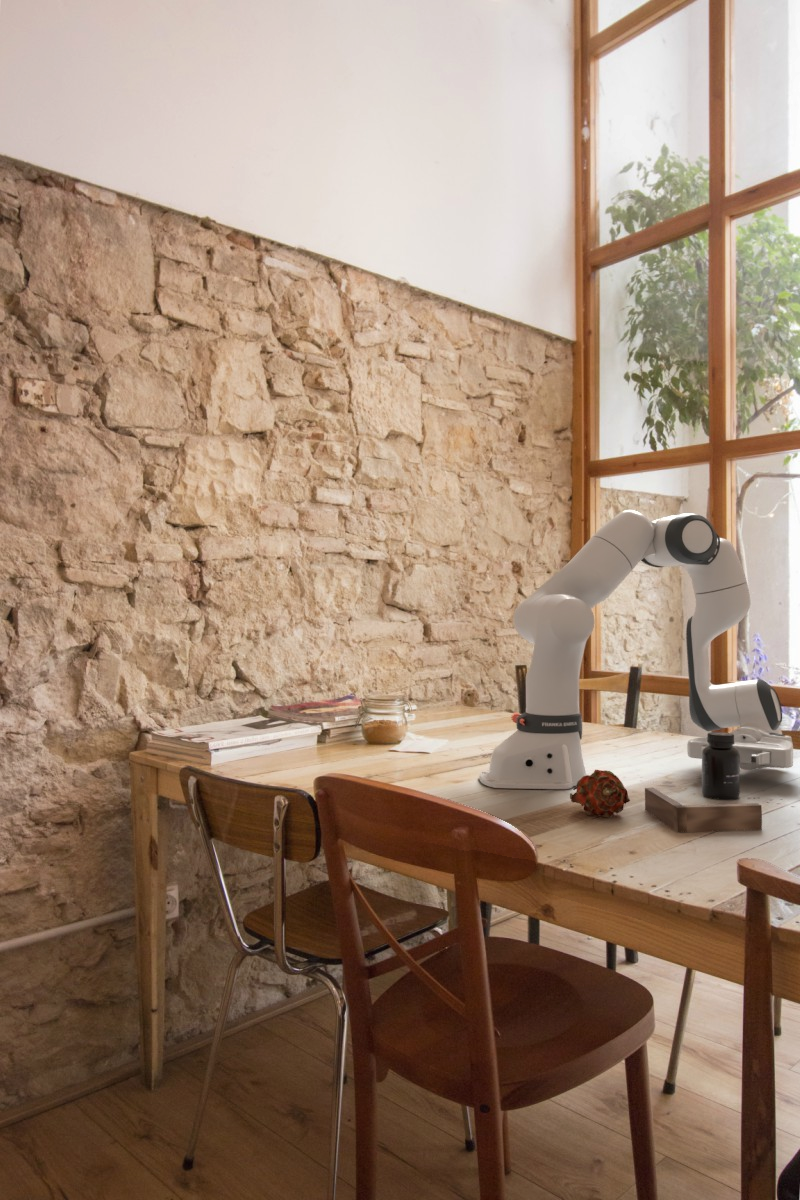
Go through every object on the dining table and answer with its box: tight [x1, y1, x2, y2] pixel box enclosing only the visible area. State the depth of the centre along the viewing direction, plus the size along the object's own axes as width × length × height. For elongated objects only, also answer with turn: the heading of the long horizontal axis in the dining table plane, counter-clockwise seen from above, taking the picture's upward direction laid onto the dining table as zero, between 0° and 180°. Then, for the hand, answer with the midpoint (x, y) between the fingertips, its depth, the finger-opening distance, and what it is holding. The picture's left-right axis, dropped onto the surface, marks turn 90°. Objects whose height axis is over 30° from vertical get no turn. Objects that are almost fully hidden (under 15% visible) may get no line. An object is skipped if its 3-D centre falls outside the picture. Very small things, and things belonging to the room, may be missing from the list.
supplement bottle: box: [701, 731, 741, 801], centre depth 164 cm, size 7×7×12 cm
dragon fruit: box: [569, 769, 631, 819], centre depth 151 cm, size 8×8×12 cm
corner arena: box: [644, 787, 763, 833], centre depth 146 cm, size 14×15×4 cm
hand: (729, 757), depth 169 cm, fingers open, 8 cm apart
